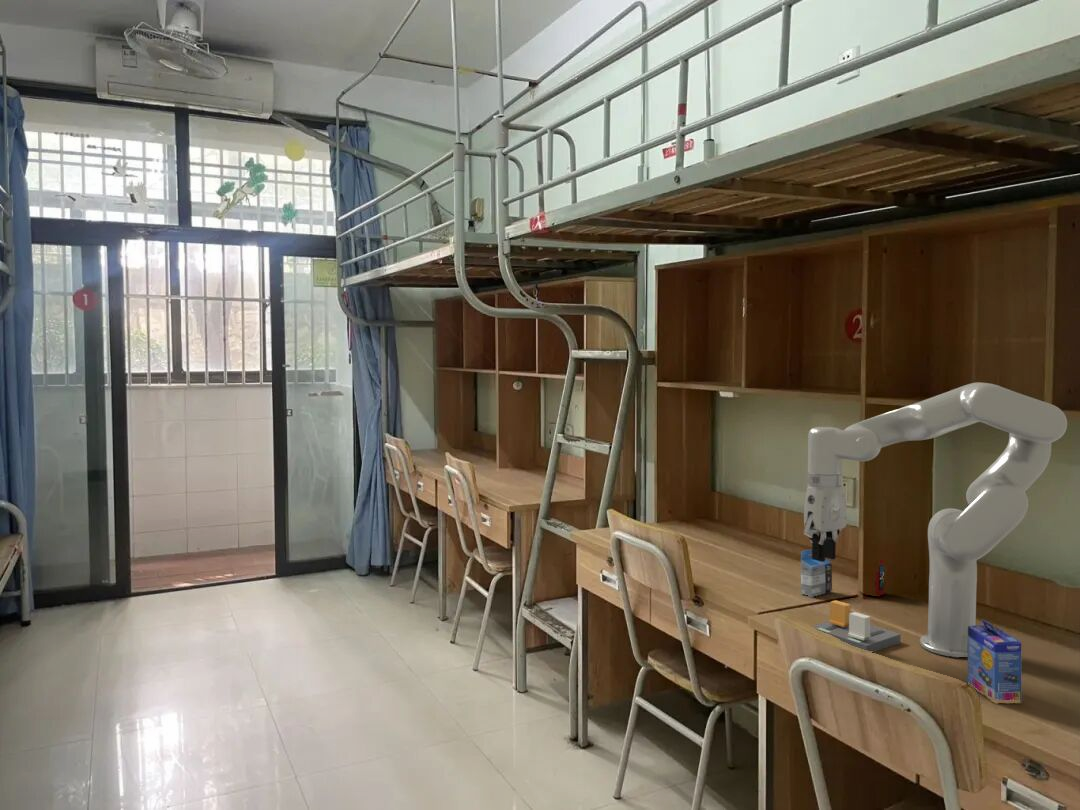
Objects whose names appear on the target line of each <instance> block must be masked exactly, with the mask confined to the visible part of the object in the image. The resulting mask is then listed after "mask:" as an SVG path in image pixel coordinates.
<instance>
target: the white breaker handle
mask: <svg viewBox="0 0 1080 810" xmlns="http://www.w3.org/2000/svg"><path fill="white" fill-rule="evenodd" d="M870 625H871V616H870V615H866V614H863V613H860V612H856V611H854V612H850V614H849V633H848V636H851V637H854V638H857V639H860V640H863V641H864V640H867V639H870V638H871V636H870Z"/></svg>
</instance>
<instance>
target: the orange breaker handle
mask: <svg viewBox="0 0 1080 810" xmlns="http://www.w3.org/2000/svg"><path fill="white" fill-rule="evenodd" d="M829 606H830V610H829V611H830V615H829V618H830V619H829V623H832V624H835V625H838V626H842V627H846V626H849V614H850V613H851V604H850V603H847V602H845V601H844V602H843V601H839V600H836V599H835V600H832V601H830V605H829Z"/></svg>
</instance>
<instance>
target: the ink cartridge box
mask: <svg viewBox="0 0 1080 810" xmlns="http://www.w3.org/2000/svg"><path fill="white" fill-rule="evenodd" d="M981 621H982V623H983V625H981V624H980V625H976V624H975V625H974V626H968V658H967V683H968V682H969V683H970V684H972V685H973V686H975V688H977V689H978V690H979V691H982V692H983V693H985V694H987V695H988V696H990V697H992V698H994V699H999V700H1000V699H1001V700H1010V699H1011V700H1012V699H1014V700H1021V701H1022V641H1020V640H1019V639H1018V638H1015V637H1014V636H1012V635H1010V634H1009V633H1006V632H1003V630H1002V629H1000V628H998V627H996V626H994V624H992V623H990V622H988V621H986V620H984V619H983V618H981Z"/></svg>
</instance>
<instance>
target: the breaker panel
mask: <svg viewBox="0 0 1080 810" xmlns="http://www.w3.org/2000/svg"><path fill="white" fill-rule="evenodd" d="M811 627H813V628H815V629H817V630H819V631H822V632H824V633H827V634H830V635H832V636H834V637H836V638H838V639H840V640H841V641H843V642H846V643H848V644H850V645H852V646H855V647H858V648H861V649H864V650H868V651H873V652H872V653H874V652H878V651H881V650H884V649H887V648H890V647H892V646H895V645H898V644H900V643H901V639H902V638H901V635H902V634H901V633H898V632H896V631H893V630H888V629H885V628H883V627H878V626H875V625H872V624H870V636H871V638H870V639H867V640H864V641H863V640H860V639H857V638H854V637H851V636H848V633H849V626H846V627H842V626H838V625H835V624H832V623H829V621H826V622H823V623H819V624H818V623H817V624H816V625H811Z"/></svg>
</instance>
